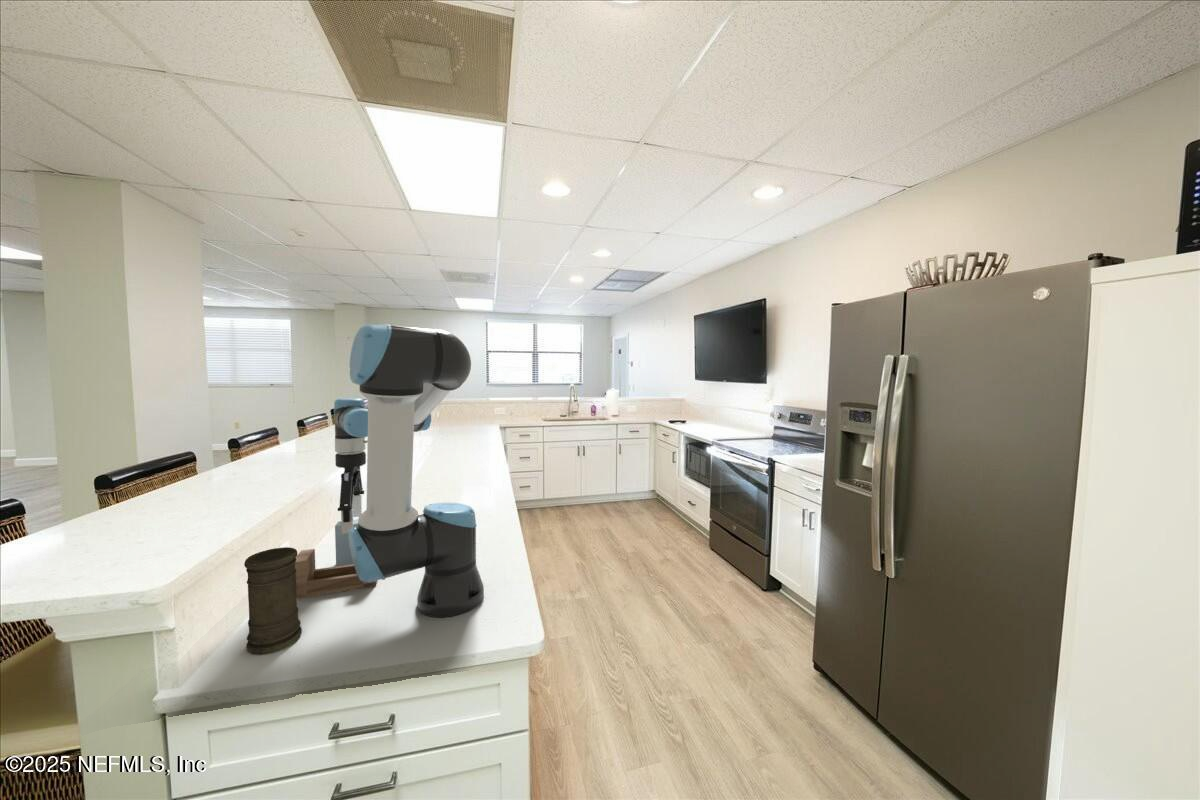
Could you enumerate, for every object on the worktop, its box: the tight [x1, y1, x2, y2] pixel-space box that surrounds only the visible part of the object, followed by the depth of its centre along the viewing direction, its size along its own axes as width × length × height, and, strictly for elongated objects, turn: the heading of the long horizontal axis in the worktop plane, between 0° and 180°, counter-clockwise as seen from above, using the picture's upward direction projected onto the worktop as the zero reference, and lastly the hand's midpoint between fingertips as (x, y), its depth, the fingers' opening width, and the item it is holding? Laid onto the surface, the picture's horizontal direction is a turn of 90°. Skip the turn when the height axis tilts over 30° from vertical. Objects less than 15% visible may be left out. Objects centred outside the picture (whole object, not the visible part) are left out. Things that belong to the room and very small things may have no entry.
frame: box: [295, 548, 379, 599], centre depth 108 cm, size 8×18×9 cm, turn 111°
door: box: [334, 519, 358, 567], centre depth 121 cm, size 4×8×12 cm, turn 111°
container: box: [243, 546, 303, 656], centre depth 84 cm, size 9×9×18 cm
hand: (352, 524), depth 121 cm, fingers open, 13 cm apart
